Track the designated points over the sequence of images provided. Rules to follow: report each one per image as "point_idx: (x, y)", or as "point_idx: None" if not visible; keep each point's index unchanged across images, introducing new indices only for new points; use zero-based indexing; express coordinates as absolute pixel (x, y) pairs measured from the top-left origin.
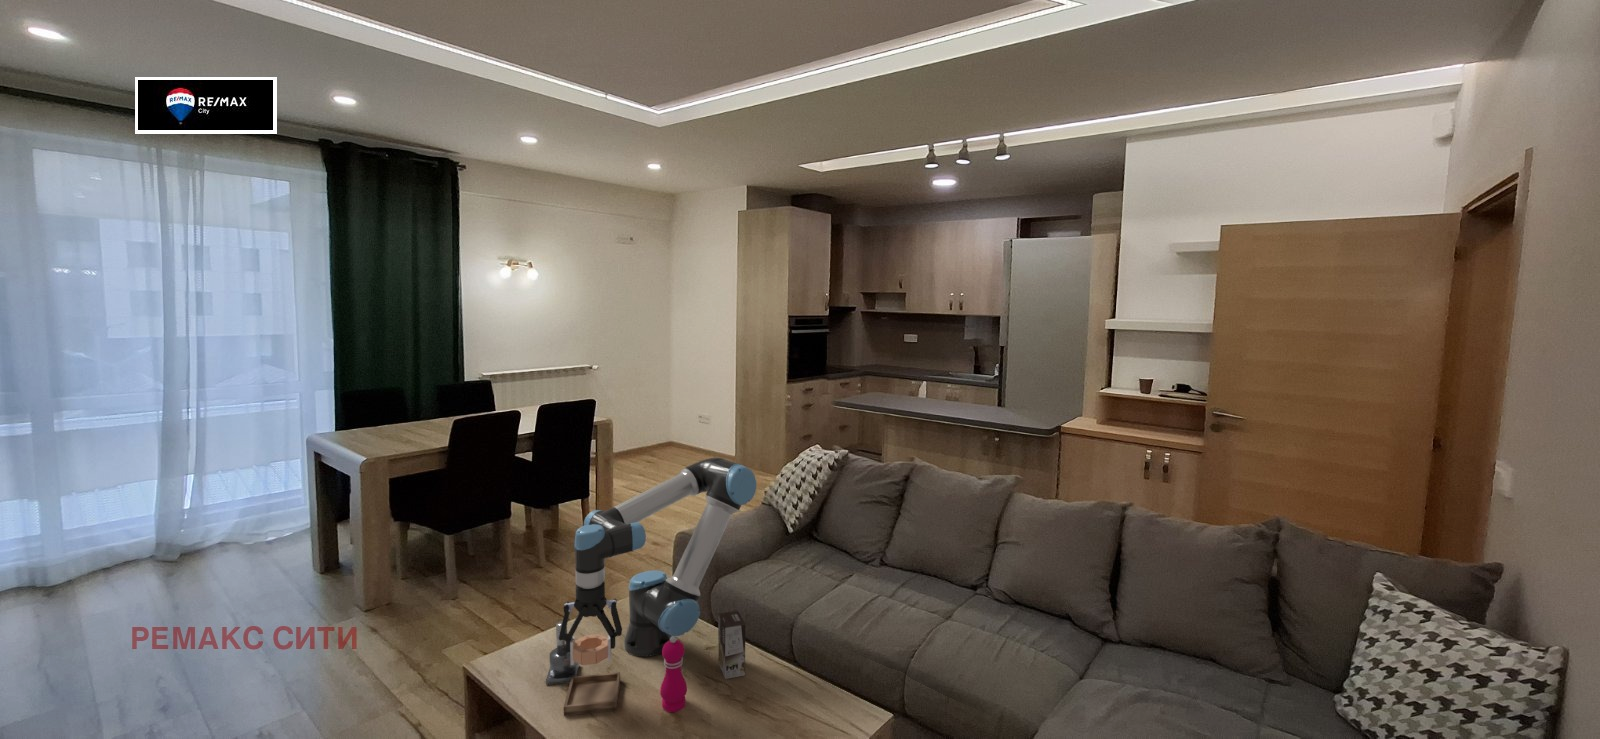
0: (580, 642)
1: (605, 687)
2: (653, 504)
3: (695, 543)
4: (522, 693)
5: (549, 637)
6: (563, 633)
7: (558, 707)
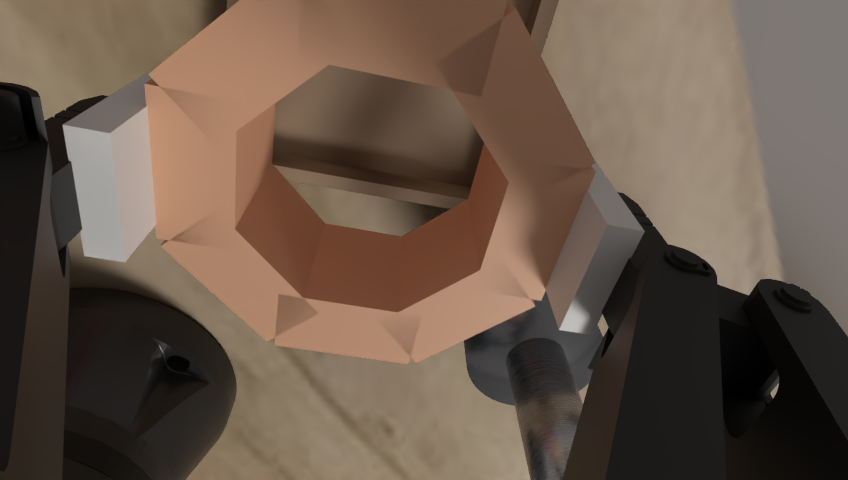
0: (487, 258)
1: (314, 89)
2: None
3: None
4: (708, 206)
5: None
6: (808, 348)
7: (579, 22)
